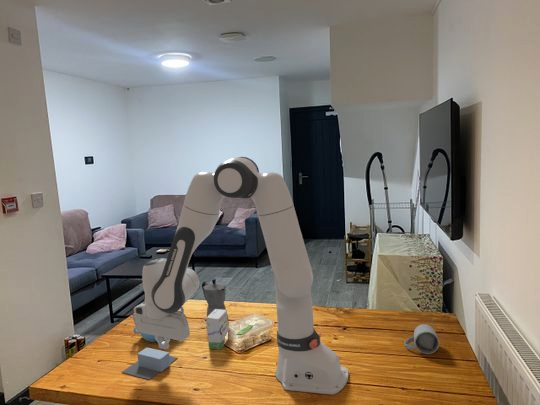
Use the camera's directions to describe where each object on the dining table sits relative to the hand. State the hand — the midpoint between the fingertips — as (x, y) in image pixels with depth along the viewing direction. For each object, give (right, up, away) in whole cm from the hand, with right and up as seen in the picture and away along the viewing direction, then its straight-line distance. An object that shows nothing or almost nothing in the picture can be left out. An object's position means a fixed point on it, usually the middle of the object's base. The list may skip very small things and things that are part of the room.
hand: (164, 347), depth 135 cm
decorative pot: (-8, -5, +26) cm, 28 cm away
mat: (-6, -8, +4) cm, 10 cm away
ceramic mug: (+86, -2, +4) cm, 86 cm away
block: (0, -5, +1) cm, 5 cm away
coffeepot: (+12, -2, +37) cm, 39 cm away
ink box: (+16, -5, +16) cm, 24 cm away
